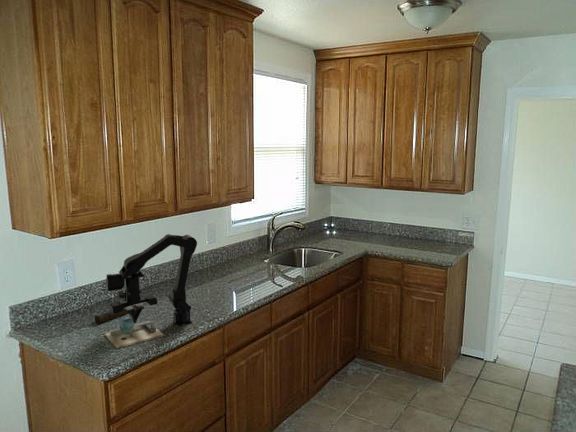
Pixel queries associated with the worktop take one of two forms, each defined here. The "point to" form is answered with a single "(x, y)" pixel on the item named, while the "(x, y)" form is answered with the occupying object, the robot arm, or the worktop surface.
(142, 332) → the template board
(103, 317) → the hand tool
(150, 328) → the fixed leg
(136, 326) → the rail
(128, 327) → the sliding leg
